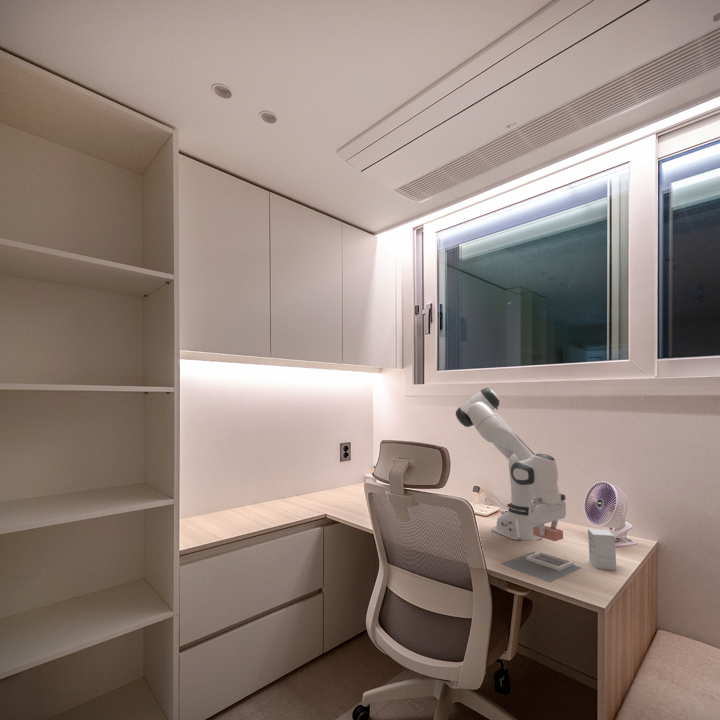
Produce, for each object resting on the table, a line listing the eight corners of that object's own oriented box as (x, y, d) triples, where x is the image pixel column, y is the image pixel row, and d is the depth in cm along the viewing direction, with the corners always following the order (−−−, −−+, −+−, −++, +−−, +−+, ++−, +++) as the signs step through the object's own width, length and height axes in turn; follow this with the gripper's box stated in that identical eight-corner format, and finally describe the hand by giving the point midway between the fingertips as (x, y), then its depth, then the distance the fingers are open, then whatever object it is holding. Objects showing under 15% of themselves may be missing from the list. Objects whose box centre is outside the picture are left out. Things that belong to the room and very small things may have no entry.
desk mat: (500, 564, 160) (499, 563, 160) (533, 553, 173) (533, 552, 173) (549, 583, 144) (549, 582, 144) (582, 568, 157) (582, 567, 157)
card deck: (563, 538, 161) (562, 530, 161) (555, 541, 158) (554, 532, 158) (541, 532, 168) (541, 524, 168) (533, 535, 165) (533, 527, 165)
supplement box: (609, 563, 162) (608, 529, 163) (617, 571, 155) (615, 535, 156) (588, 561, 164) (587, 528, 165) (594, 569, 157) (593, 534, 158)
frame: (526, 559, 165) (526, 556, 165) (540, 554, 170) (540, 551, 170) (559, 570, 154) (559, 567, 154) (573, 565, 159) (573, 561, 160)
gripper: (538, 501, 156) (540, 540, 155) (568, 494, 167) (570, 530, 166) (523, 498, 161) (524, 536, 160) (553, 492, 173) (554, 527, 171)
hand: (548, 533), depth 163 cm, fingers closed on card deck, 5 cm apart
